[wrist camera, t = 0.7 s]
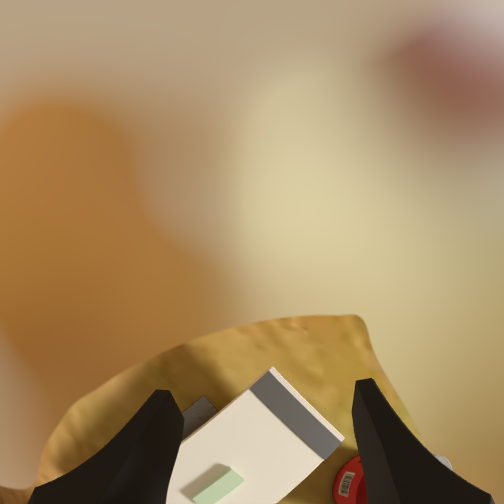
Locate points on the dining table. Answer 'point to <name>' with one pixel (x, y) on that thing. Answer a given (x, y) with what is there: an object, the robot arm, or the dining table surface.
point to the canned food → (357, 482)
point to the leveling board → (253, 448)
